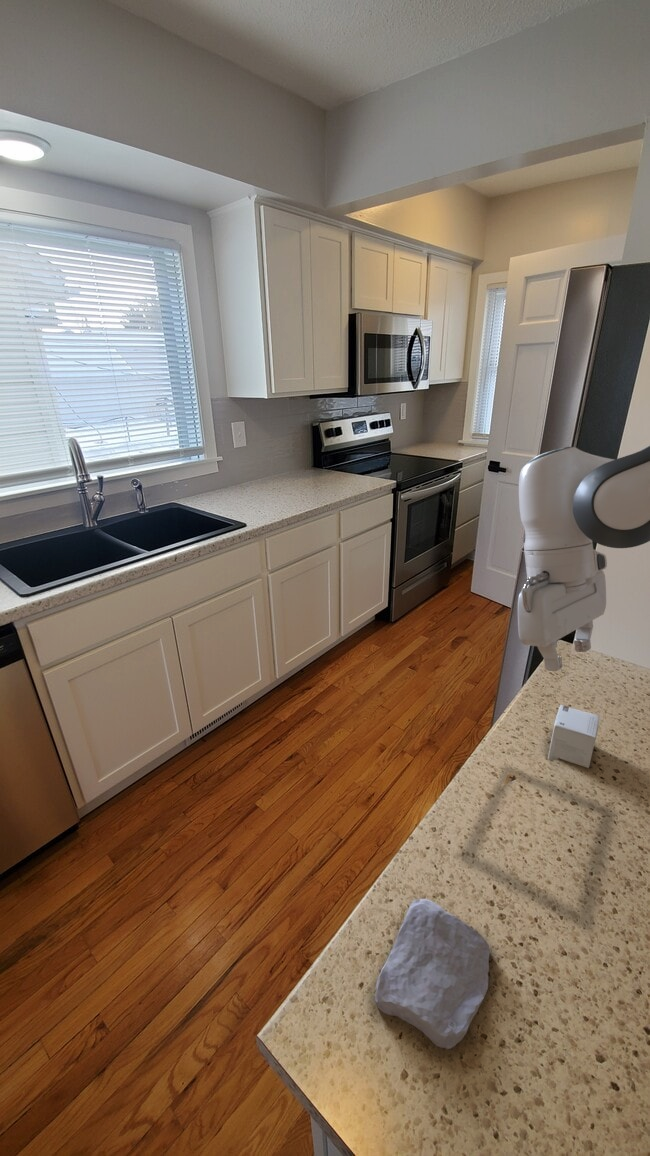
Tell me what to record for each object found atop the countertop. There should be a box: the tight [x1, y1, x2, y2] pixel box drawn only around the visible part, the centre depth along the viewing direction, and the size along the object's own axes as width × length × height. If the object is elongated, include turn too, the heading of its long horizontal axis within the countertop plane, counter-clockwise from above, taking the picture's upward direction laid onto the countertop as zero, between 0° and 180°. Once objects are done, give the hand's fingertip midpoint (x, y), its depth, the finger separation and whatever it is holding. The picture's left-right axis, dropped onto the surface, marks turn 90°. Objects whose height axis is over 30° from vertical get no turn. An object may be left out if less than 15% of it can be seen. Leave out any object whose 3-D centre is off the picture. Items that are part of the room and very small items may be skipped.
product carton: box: [547, 704, 600, 769], centre depth 80 cm, size 6×6×7 cm
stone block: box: [374, 898, 491, 1050], centre depth 52 cm, size 12×5×10 cm
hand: (569, 659), depth 71 cm, fingers open, 8 cm apart
